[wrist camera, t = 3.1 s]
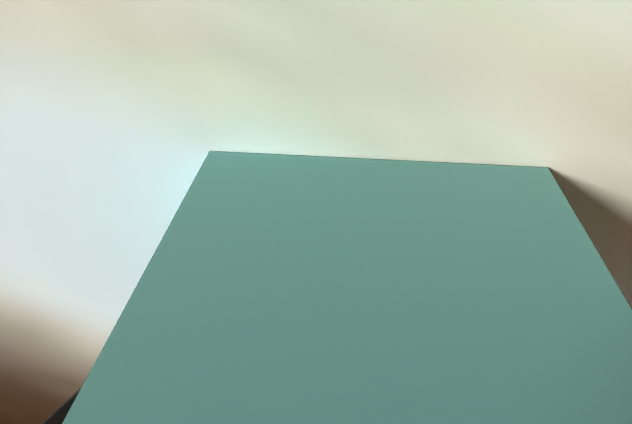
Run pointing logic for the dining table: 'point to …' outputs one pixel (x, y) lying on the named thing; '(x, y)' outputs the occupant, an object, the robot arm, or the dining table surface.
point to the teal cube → (368, 302)
